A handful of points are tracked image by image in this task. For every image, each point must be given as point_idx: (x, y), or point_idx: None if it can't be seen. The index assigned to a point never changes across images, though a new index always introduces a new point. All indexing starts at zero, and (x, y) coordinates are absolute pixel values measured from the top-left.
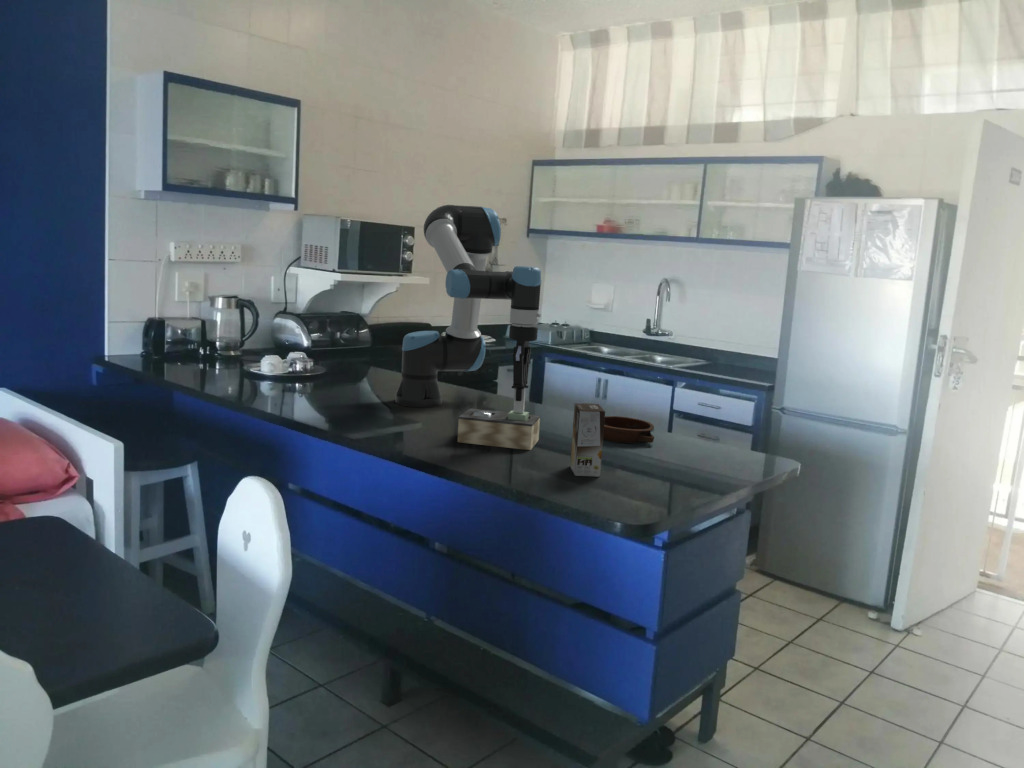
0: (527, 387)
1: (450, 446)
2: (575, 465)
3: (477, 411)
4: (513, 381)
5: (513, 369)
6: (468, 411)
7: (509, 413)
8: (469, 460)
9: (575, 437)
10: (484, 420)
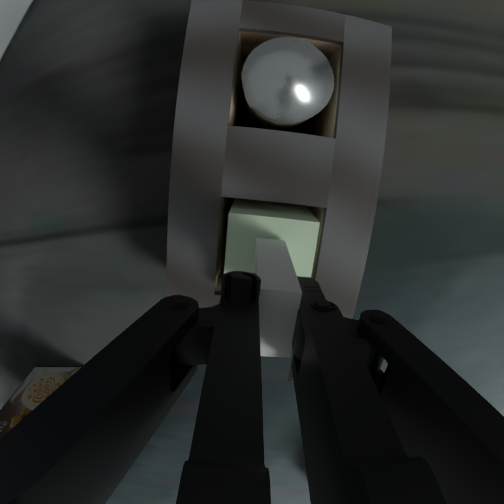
0: (290, 373)
1: (147, 32)
2: (27, 377)
3: (302, 53)
4: (140, 319)
5: (60, 387)
6: (323, 18)
7: (237, 219)
8: (29, 131)
9: (12, 412)
10: (176, 108)
